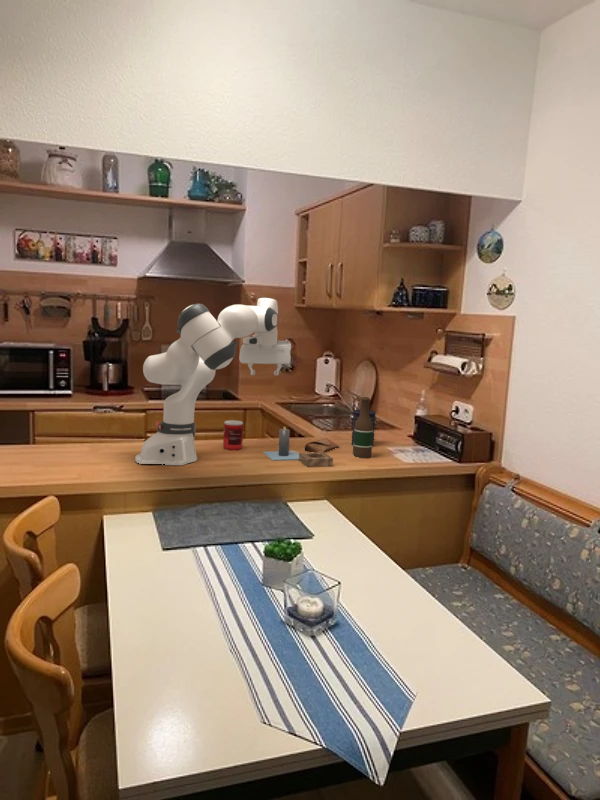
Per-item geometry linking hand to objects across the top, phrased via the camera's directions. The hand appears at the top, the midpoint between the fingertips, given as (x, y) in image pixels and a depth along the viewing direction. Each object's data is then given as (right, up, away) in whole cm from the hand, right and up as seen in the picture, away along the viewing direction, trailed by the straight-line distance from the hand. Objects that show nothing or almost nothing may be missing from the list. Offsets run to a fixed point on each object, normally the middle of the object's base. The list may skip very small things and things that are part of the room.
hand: (264, 375), depth 241 cm
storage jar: (+41, -30, +28) cm, 58 cm away
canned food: (-13, -30, +9) cm, 34 cm away
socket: (+20, -34, -10) cm, 40 cm away
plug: (+7, -31, -1) cm, 32 cm away
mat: (+7, -32, -1) cm, 33 cm away
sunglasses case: (+24, -31, +16) cm, 42 cm away
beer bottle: (+39, -33, +6) cm, 51 cm away
